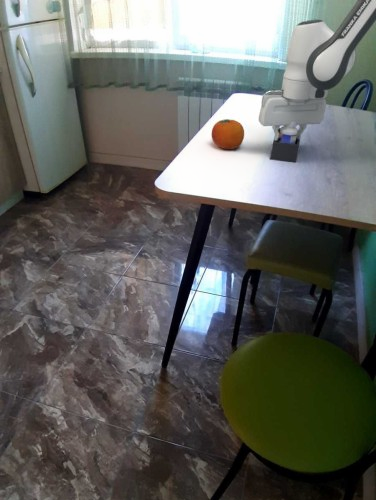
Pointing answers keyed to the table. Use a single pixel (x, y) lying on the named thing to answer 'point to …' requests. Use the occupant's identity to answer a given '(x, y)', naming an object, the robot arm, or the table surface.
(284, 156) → the open box
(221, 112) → the table surface
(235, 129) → the fruit
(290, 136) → the pill bottle
